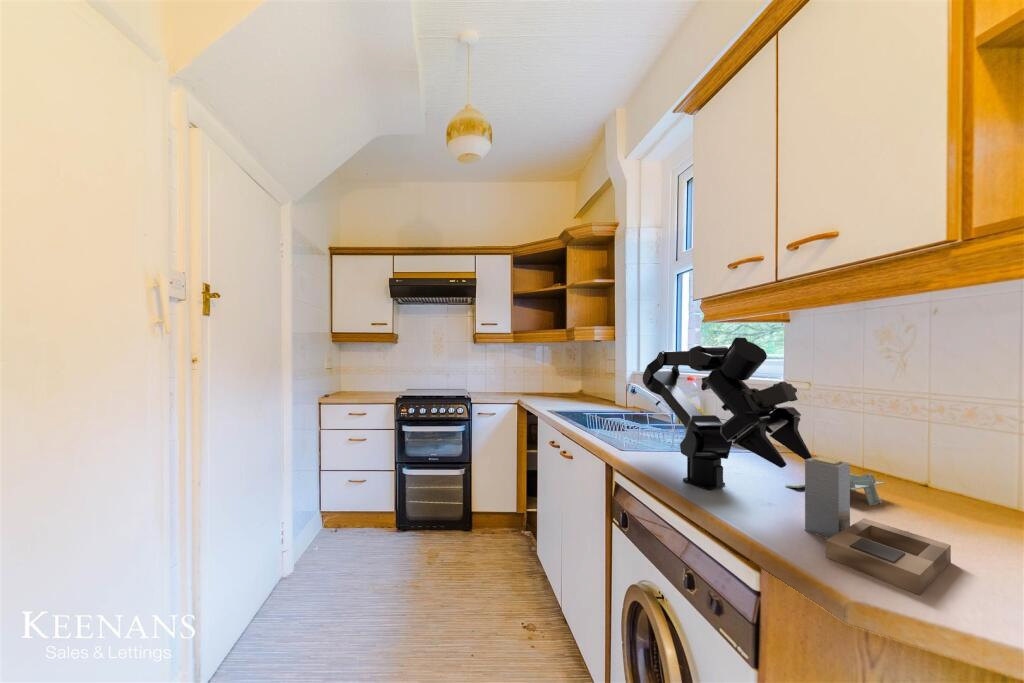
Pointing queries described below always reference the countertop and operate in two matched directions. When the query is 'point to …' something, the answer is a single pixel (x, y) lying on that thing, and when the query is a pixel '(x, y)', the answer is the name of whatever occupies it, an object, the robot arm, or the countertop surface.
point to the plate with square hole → (890, 554)
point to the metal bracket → (857, 486)
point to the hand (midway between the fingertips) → (797, 462)
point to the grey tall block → (827, 496)
